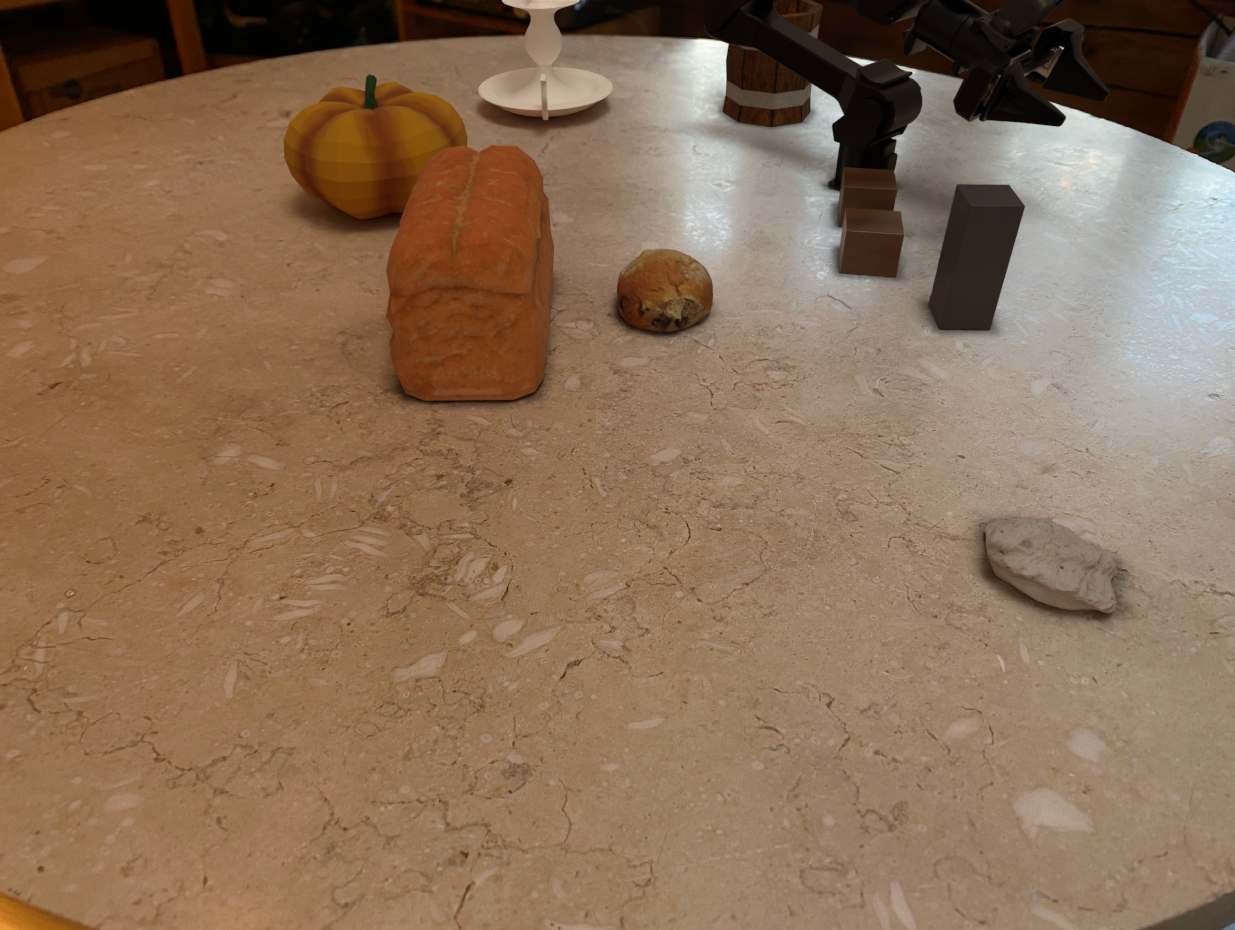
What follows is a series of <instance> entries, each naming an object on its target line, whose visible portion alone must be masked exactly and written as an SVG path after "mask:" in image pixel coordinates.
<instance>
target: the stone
mask: <svg viewBox="0 0 1235 930" xmlns="http://www.w3.org/2000/svg"><path fill="white" fill-rule="evenodd" d="M983 532H984V534H985V549H986V555H987V559H988V561H989V563H990V567H991V568H992V571H993V574H995V576H996V577H998V578H999V579H1001V580H1002V581H1004V582H1006V583H1008V584H1009V585H1011V586H1012V587H1014V588H1015V589H1017V590H1018V591H1019V592H1021V593H1023V594H1025V595H1026V596H1028V597H1030V598H1031V599H1033V600H1035V601H1036V602H1040V603H1043V604H1045V605H1046V606H1047V605H1048V606H1052V607H1055V608H1058V609H1063V610H1064V609H1065V610H1070V611H1071V610H1073V611H1079V610H1093V611H1097V612H1101V613H1103V614H1111V613H1113V612H1114V611H1115V609H1116V608H1117V607H1116V605H1117V603H1118V602H1117V600H1116V595H1115V592H1114V588H1113V585H1112V579H1113V578H1114V576H1115V575H1116V574H1117V566H1116V563H1115V561H1114V557H1113V555H1112V554H1111V553H1110V552H1109V551H1106V549H1104V548H1103V547H1101V546H1100V545H1098V544H1096V543H1094V542H1093V541H1088V540H1086V539H1083V538H1081V537H1080V536H1078V535H1077V534H1076V533H1075V532H1074V530H1072V529H1071V528H1070V527H1068V526H1065V525H1064V524H1060V523H1057V522H1055V521H1054V520H1053V519H1052V518H1051V517H1050V518H1046V517H1025V518H1024V517H1015V518H1005V519H1002V520H1001V519H998V520H995V521H992V522H990V523H988V524H987V525H986V526H985V527H984V531H983Z"/></svg>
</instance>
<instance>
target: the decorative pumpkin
mask: <svg viewBox="0 0 1235 930" xmlns="http://www.w3.org/2000/svg"><path fill="white" fill-rule="evenodd" d="M377 83H378V79H377V76H375V75H374V74H367V75H366V77H365V84H364V87H365V88H364V90H362V89H358V88H354V87H347V86H338V87H331V88H330V89H329V90H328V92H326V94H324V95H323V96H322V98H321V99H319V101H318V102H316V103H314V104H311V105H309V106H307V107H304V108H302V109H301V110H300V111H299V112H298V113H297V114H296V115H295V116H294V117H293V118H292V119H291V120H290V122H289V123H288V126H287V129H286V131H285V134H284V137H283V139H282V140H283V157H284V160H285V163H286V166H287V168H288V170H289V173H290V175H291V177H292V178H293V179H294V180H295V182H296V183H297V184H298V185H299V186H300V188H302V190H303V191H304V192H305V193H307V194H308V195H310V196H312V197H313V198H314V199H317V200H318V201H320V202H322V203H324V204H325V205H327V206H330V207H336V208H337V209H339V210H340V211H342V212H344V213H345V214H347V215H349V216H351V217H353V218H356V219H358V220H369V219H370V220H371V219H376V218H380V217H381V218H382V217H383V216H385V215H389V214H392V213H393V214H403V212H404V209H405V207H406V204H407V201H408V200H409V197H410V194H411V192H412V189H413V186H414V185H415V184H416V182H417V178H418V175H419V174H420V172H421V170H422V168H423V167H424V165H425V164H426V162H427V160H428V159H429V158H431V157H432V156H434V155H435V154H437V153H438V152H440V151H441V150H443V149H444V148H448V147H457V146H467V147H468V134H467V130H466V126H465V124H464V123H465V122H464V119H463V118H462V117H461V115H460V113H459V112H458V111H457V109H456V108H455V107H454V106H453V105H452V104H451V103H450V102H448V101H446V100H445V99H443V98H442V97H441V96H438V95H437V94H433V93H427V92H421V91H413V90H412V89H410V88H408V87H407V86H405V85H404V84H401V83H399V82H397V81H387V82H384V83H381V84H379V85H377Z"/></svg>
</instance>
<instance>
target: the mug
mask: <svg viewBox="0 0 1235 930" xmlns="http://www.w3.org/2000/svg"><path fill="white" fill-rule="evenodd" d="M773 4H774V7H775V9H776V11H777V13H778V15H779V16H780V17H781V18H783V19H785V20H786V21H788V22H790V23H791V24H793V25H795V26H796V27H798V28H800V29H801V30H803V31H805V32H806V33H808V34H810V35H811V36H813V37H815V38H816V39H818V37H819V29H820V22H821V17H822V14H823V10H824V5H823V4H821V3H819V2H816V1H813V0H776V1H775V2H774V3H773ZM725 75H726V76H725V77H726V79H725V80H726V81H725V96H724V101H723V106H722V113H723V114H725V115H726V116H728V117H729V118H731V119H732V120H734V121H735V122H737V123H739V124H740V123H741V124H746V125H747V124H748V125H754V126H762V127H767V128H773V127H780V126H788V125H794V124H801V123H803V122H804V120H805V119H806V118H807V117H808V116H809V114H810V113H811V107H812V106H811V105H812V104H811V102H812V101H811V99H812V98H811V96H812V87H813V84H811V83H810V82H808V81H806V80H805V79H803V78H802V77H800V76H798V75H797V74H795V73H794V72H792V71H790V70H789V69H787V68H786V67H784V66H783V65H781V64H779V63H778V62H776V61H775V60H773V59H771V58H770V57H768V56H767V55H765V54H763V53H762V52H760V51H759V50H757V49H755V48H751V47H744V46H738V45H731V44H728V43H727V52H726V57H725Z"/></svg>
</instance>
